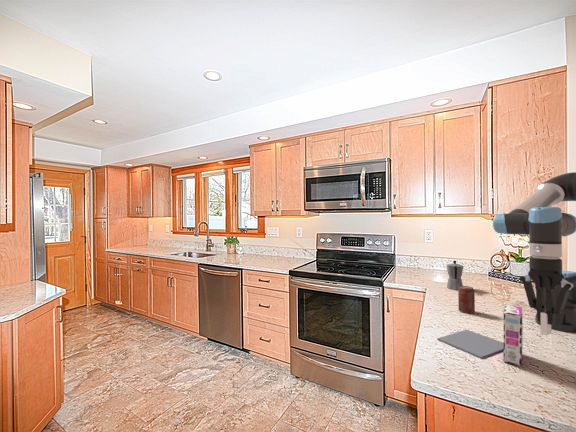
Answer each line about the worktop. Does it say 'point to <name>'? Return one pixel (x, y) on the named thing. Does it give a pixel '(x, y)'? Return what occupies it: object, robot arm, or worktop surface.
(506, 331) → the candy bar box
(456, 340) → the mat
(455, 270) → the coffeepot
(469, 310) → the soda can
